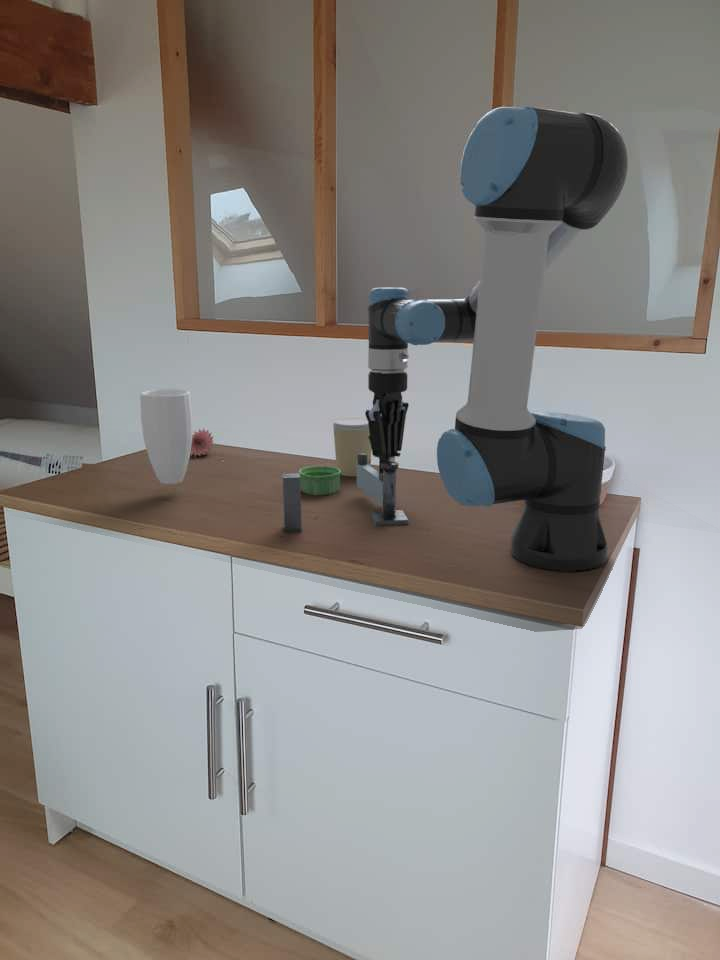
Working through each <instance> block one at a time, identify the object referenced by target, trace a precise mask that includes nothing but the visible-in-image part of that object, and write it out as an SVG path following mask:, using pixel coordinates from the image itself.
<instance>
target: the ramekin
mask: <svg viewBox="0 0 720 960" xmlns="http://www.w3.org/2000/svg"><path fill="white" fill-rule="evenodd" d="M298 473H299V474H300V486H301V492H302V493H305V494H307V495H312V496H326V495H327V496H328V495H332V494H335V493H337V492H339V490H340V478H341V477H340V476H341V475H340V474H341V470H340V469H339V468H337V466H336V467H334V466H330V465H312V466H311V465H310V466H305V467H302V468H301V469H299V470H298Z"/></svg>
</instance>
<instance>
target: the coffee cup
mask: <svg viewBox="0 0 720 960" xmlns="http://www.w3.org/2000/svg"><path fill="white" fill-rule="evenodd" d="M332 428H333V437H334V450H335V451H334V452H335V453H334V454H335V464H336V468H339V469H340V470H341V474H340V476H345V477H357V462H358V454H359V453H366V454H367V464H368V465H369V466H370V467H371V465H372V464H371V463H372V462H371V461H372V447H371V439H370V432H369V424H368V420H367V418H359V417H358V418H357V417H352V418H351V417H349V418H347V417H346V418H339V419H336V420H334V421H333V425H332Z"/></svg>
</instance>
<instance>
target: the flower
mask: <svg viewBox="0 0 720 960" xmlns="http://www.w3.org/2000/svg"><path fill="white" fill-rule="evenodd" d="M213 438H214V436H213V435H212V432H209V429H207V430H206V429H205V428H203V429H202V430H201V429H200V428H198V431H195V430H194V434H192V444H191V451H190V456H191V457H192V456H193V455H194V457H195V458H197V456H199V457H202V456H205V455H207V454H208V453H209V452H211V450H212V448H213V443H214V439H213Z"/></svg>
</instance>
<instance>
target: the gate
mask: <svg viewBox="0 0 720 960" xmlns="http://www.w3.org/2000/svg"><path fill="white" fill-rule="evenodd" d="M356 486H357V488H359V490H361V491H362V492H363V493H365V494H366V496H368V497H369V498H371V500H373V501H374V502H375V503H376V504H377V505H379V506H380V507H381V508H383V473H379V471H377V469H375V468H374V467H372V466H371V465H370V466H369V465H368V464H367V454H366V453H359V454H358V462H357V476H356Z"/></svg>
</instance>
